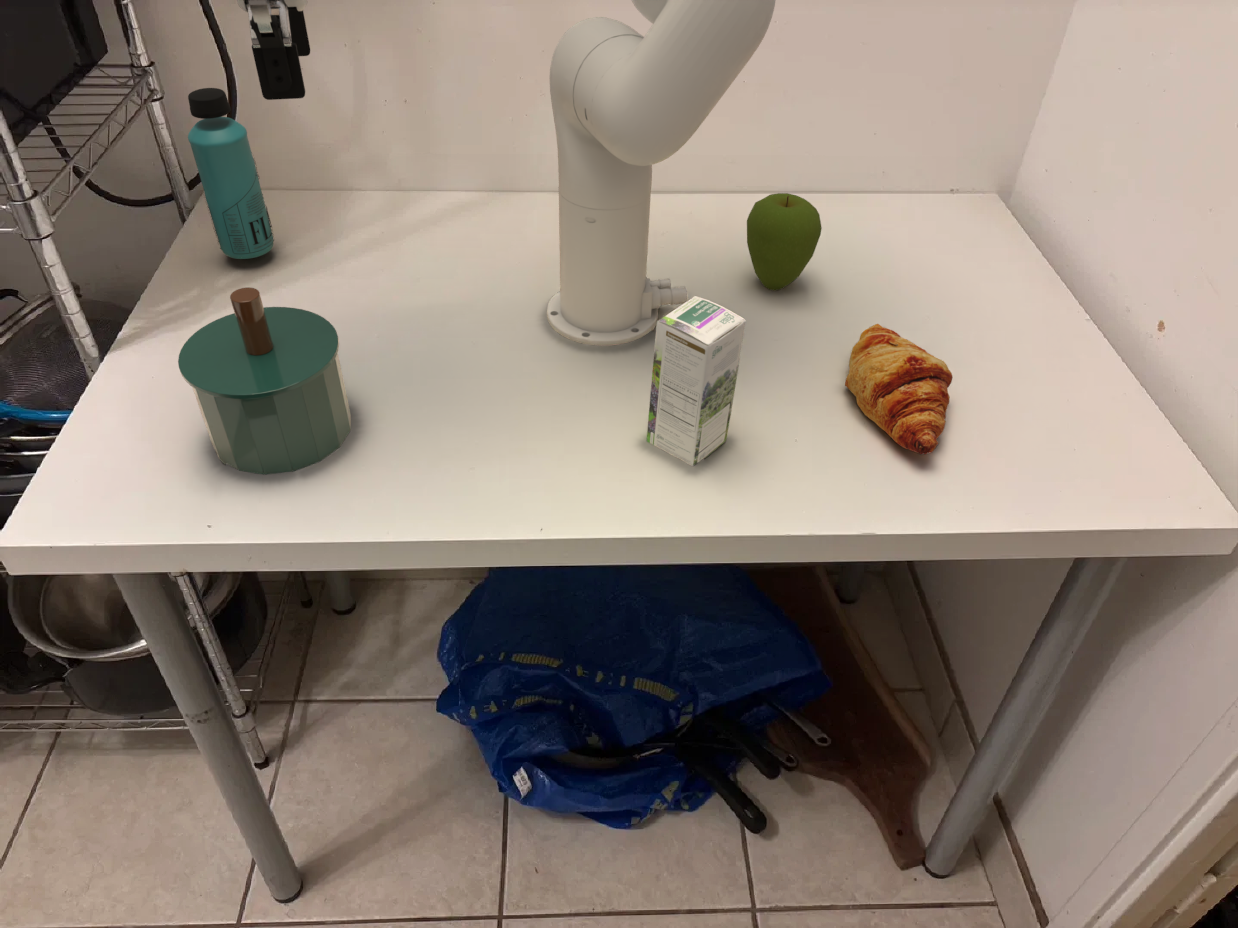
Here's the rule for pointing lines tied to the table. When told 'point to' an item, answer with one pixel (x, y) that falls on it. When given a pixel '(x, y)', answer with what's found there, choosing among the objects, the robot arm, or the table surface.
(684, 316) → the syrup box
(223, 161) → the beverage bottle
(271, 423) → the canister
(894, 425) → the croissant
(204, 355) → the lid
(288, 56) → the robot arm
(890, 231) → the table surface
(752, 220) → the apple
